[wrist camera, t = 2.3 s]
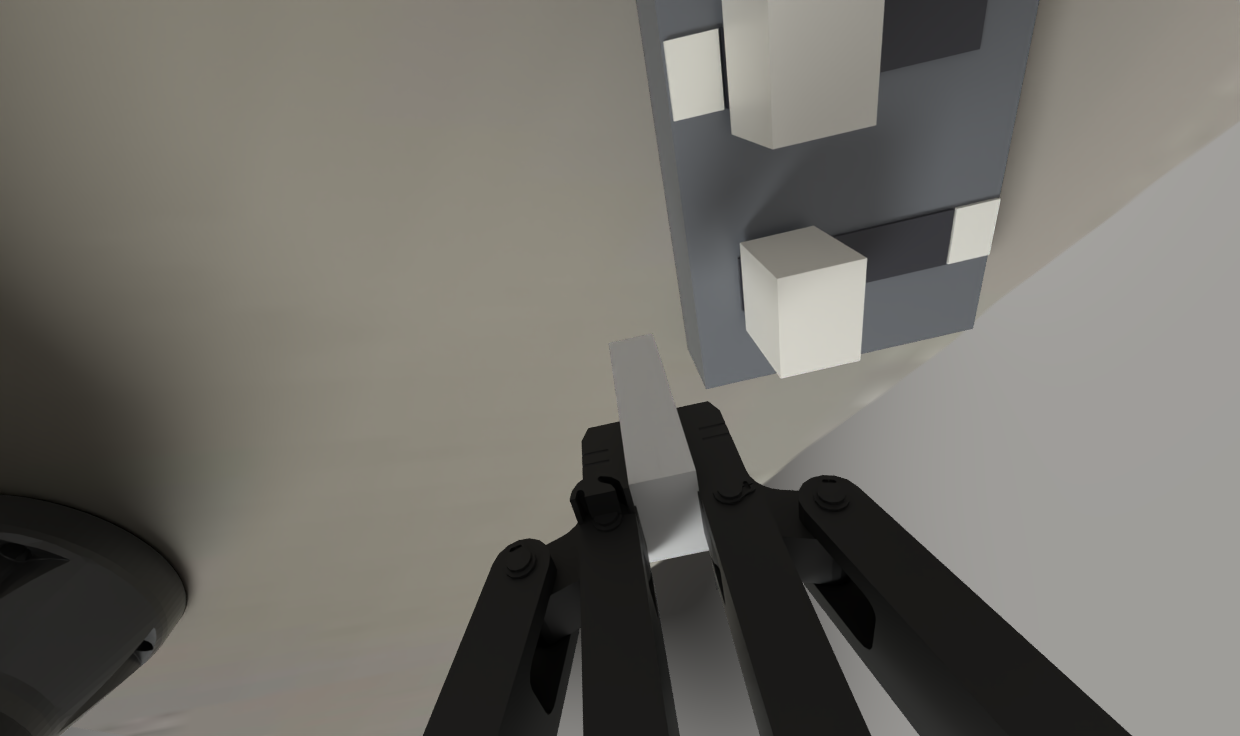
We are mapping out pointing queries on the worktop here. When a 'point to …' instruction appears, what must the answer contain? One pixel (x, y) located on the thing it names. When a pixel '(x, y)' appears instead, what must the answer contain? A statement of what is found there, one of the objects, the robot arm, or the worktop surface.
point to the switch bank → (841, 171)
